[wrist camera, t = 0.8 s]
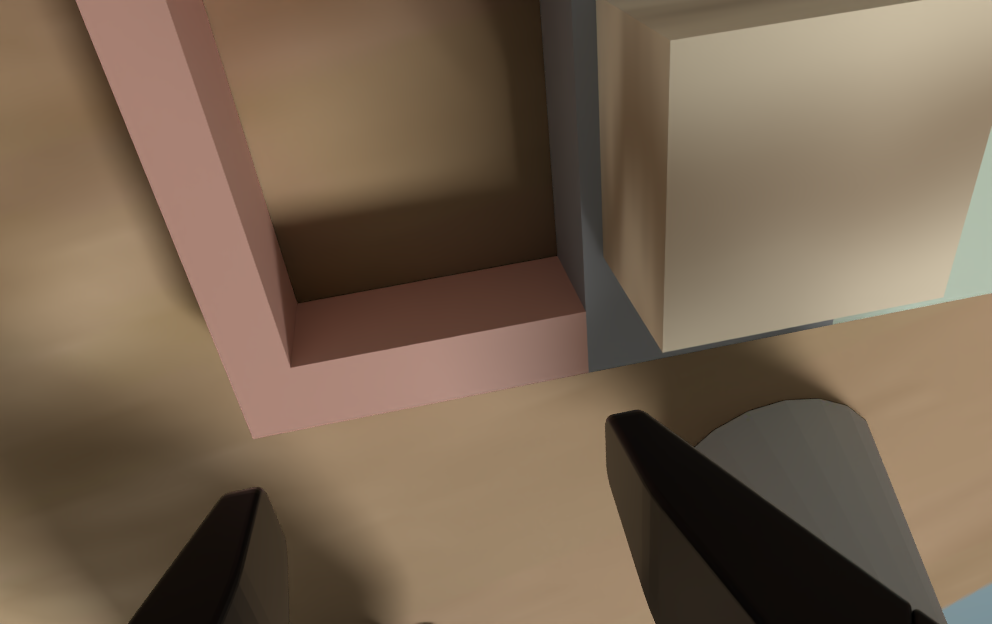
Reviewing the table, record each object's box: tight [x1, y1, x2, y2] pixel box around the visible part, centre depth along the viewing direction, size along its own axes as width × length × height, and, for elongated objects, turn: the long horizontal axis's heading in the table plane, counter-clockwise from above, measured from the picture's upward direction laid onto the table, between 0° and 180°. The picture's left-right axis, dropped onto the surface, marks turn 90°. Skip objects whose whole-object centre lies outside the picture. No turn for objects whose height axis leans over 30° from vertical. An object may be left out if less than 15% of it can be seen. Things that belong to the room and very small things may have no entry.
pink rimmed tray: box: [76, 0, 992, 439], centre depth 18 cm, size 13×34×3 cm, turn 96°
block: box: [596, 0, 992, 353], centre depth 15 cm, size 6×6×4 cm
